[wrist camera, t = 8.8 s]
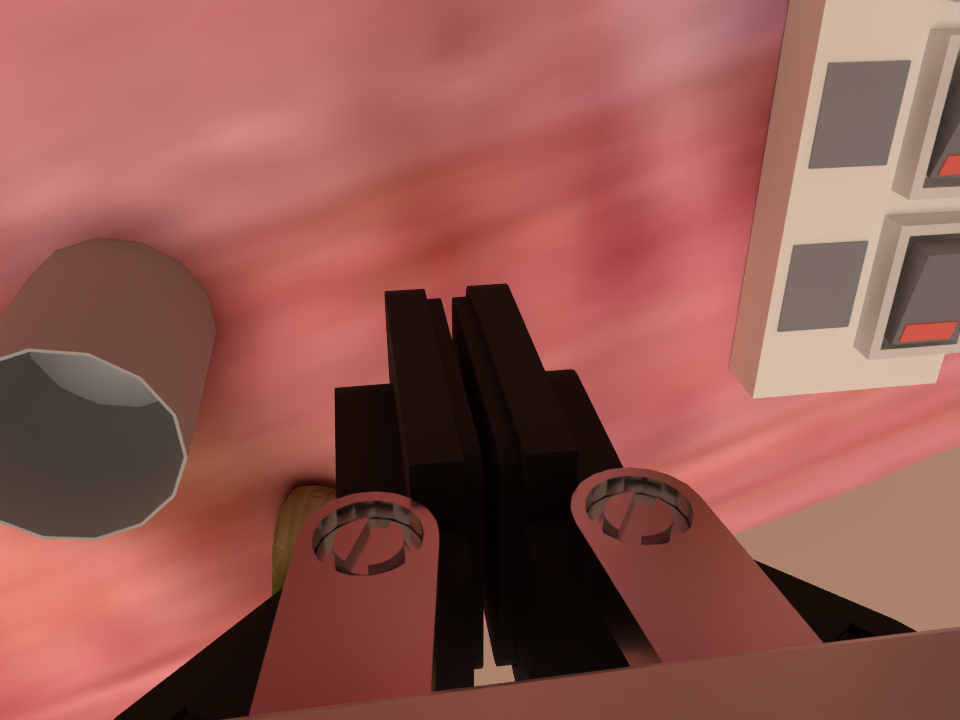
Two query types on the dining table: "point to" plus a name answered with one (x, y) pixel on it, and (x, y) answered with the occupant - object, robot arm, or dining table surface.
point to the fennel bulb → (294, 526)
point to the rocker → (927, 295)
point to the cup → (99, 389)
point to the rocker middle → (947, 141)
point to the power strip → (847, 196)
